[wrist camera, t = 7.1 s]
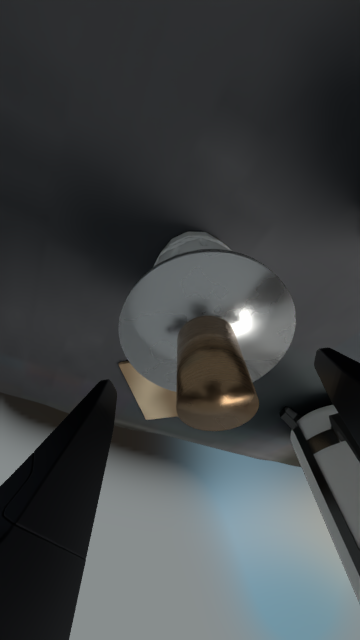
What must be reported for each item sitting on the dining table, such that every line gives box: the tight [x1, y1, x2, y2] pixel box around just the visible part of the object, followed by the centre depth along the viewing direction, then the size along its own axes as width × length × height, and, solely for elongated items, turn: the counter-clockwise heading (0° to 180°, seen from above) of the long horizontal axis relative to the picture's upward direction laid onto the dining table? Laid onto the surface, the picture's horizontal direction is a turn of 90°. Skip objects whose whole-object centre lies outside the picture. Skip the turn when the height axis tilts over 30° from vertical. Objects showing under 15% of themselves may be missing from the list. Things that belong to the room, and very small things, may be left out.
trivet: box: [119, 361, 178, 420], centre depth 29 cm, size 12×12×1 cm
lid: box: [119, 249, 296, 431], centre depth 10 cm, size 9×9×5 cm
